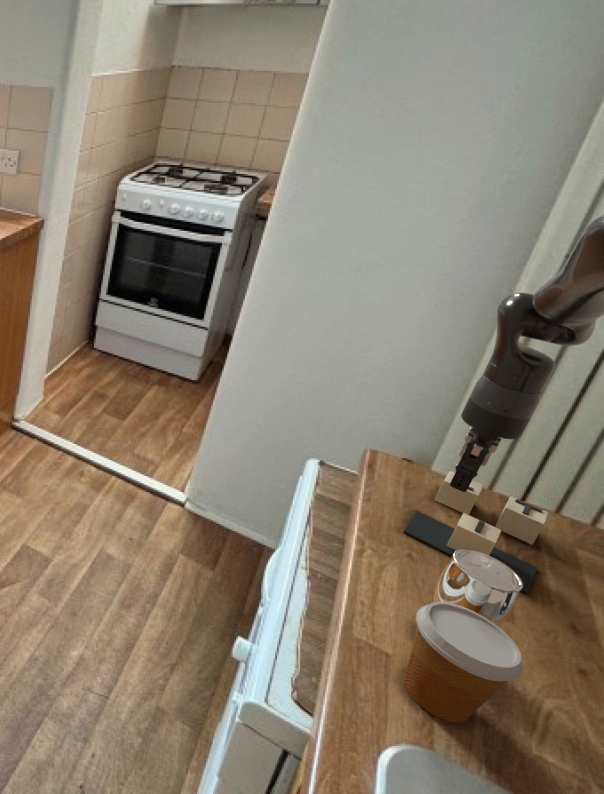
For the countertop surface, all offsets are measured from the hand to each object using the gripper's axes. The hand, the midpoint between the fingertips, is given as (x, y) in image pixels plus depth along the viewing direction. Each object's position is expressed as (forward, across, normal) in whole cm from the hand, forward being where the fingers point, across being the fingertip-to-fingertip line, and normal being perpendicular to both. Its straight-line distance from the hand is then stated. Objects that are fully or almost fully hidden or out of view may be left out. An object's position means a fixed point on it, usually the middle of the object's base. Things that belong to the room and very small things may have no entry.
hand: (463, 478), depth 108 cm
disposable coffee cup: (+5, -49, -7) cm, 50 cm away
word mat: (+5, -13, -4) cm, 15 cm away
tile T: (+5, 0, -8) cm, 10 cm away
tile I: (+5, -13, -4) cm, 14 cm away
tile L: (+5, 0, 0) cm, 5 cm away
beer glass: (+5, -39, -6) cm, 40 cm away
